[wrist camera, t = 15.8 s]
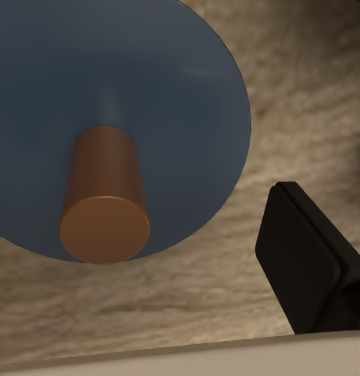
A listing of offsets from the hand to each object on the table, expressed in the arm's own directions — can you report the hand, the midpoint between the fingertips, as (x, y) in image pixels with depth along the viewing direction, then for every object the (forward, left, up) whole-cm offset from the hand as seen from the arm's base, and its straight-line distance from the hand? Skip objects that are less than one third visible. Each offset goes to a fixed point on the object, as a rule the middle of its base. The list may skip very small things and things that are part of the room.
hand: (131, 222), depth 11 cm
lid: (-1, 0, -5) cm, 5 cm away
